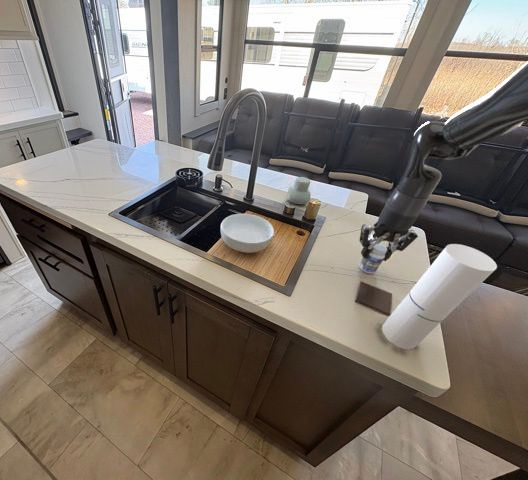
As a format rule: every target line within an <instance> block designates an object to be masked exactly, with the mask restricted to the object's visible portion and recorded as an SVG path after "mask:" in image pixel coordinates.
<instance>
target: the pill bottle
mask: <svg viewBox="0 0 528 480" xmlns="http://www.w3.org/2000/svg"><path fill="white" fill-rule="evenodd" d="M386 247H387V246H385V245H384V244H381V243H379V244H376V245H375V246H374V247H373V248H372V250H371V252H370V254H369V256H368V257H367V259H365V258H363V257H362V258H361V260H360V262H359V264H358V267H359V269H360V270H361V271H362V272H365V273H367V274H375V273H376V272H377V270H378V269H379V267H380V266H381V264H382V262H384V261H383V259H384V258H385V254H386V252H387V248H386Z"/></svg>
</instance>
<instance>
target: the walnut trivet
mask: <svg viewBox="0 0 528 480" xmlns="http://www.w3.org/2000/svg"><path fill="white" fill-rule="evenodd" d="M392 301H393V293H391V292H390V291H387V290H385V289H384V290H383V289H381V288H379V287H376V286H374V285H372V284H369V283H367V282H364V281H360V282H359V284H358V287H357V291H356V295H355V300H354V302H355V303H357V304H359V305H362V306H364V307H366V308H369V309H371V310H374V311H375V312H378V313H380V314H382V315H385V316H387V317H390V316H391V314H392V313H391V311H392Z"/></svg>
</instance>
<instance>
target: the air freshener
mask: <svg viewBox="0 0 528 480" xmlns="http://www.w3.org/2000/svg"><path fill="white" fill-rule="evenodd" d="M310 185H311V180H310V179H309V178H308V177H306V176H298V177H296V178H295V180H294V183H293V186H290V187H288V190H287V200H288V201H289V202H291V203H293V204H295V205H305V204H308V203H309V202H310V201H311V196H312V195H311V194H312V193H311V190H310V189H309V187H310ZM309 200H310V201H309ZM308 201H309V202H308Z"/></svg>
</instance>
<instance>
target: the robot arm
mask: <svg viewBox="0 0 528 480" xmlns="http://www.w3.org/2000/svg"><path fill="white" fill-rule="evenodd" d="M527 121H528V60H527V61H526V62H525V63H524V64H523V65H521V66H520V67H519V68H518V69H517V70H516V71H515V72H513V73H512V74H511V75H510V76H509V77H507V78H506V79H505V80H504V81H503V82H501V84H499V85H497V87H496V88H494V89H493V90H491V91H490V92H488V93H487V94H485V95H483V96H482V97H480V98H479V99H476V101H474V102H472V103H471V104H469V105H467V106H466V107H463V108H462V109H461V110H459V111H457V112H456V113H455V114H453V115H452V116H451V117H450V118H449V119H448V120H447V121H446V122H443V121H427V122H425V123H424V124H421V126H420V127H418V129H417V130H416V131H415V132H414V133H413V136H412V139H411V143H410V148H409V155H408V157H407V158H408V159H407V163H406V166H405V169H404V172H403V173H402V175H401V178H400V179H399V181H398V183H397V185H396V187H395V188H394V190H392V192H391V194H390V195H389V197H388V199H387V200H386V203H385V204H384V207H383V208H382V211H381V212H380V214H379V216H378V219H377V221H376V223H374V224H373V225H367V224H366V223H364V224H362V225H361V229H360V233H359V243H360V244H361V246H362V249H361V250H360V254H361V256H362V258H365V259H367V257H368V256H369V254H370V252H371V250H372V248H373V247H374V246H375V245H376V244H381V243H382V242H387V246H385V247H386V248H387V252H386V254H385V258H384V259H383V261H382V262H386V261H387V260H389V259H390V258H391V257H392V255H393V254H394V253H395V252H396V251H399V252H403V251H404V250H406V249H407V248H408V247H409V246H410V245H411V244H412V243H413V242H414V241H415V240H416V239H417V238H418V237H419V235H418V234H417V233H416V232H415V231H414V229H411V228H412V227H413V226H414V224H415V223H416V221H417V219H418V218H419V216H420V215H421V213H422V212H423V210H424V208H425V207H426V205H427V203H428V201H429V198H430V197H431V195H432V193H433V192H434V190H435V189H436V187H437V186H438V185H439V183H440V181H441V179H442V176H443V174H442V172H441V171H440V170H439V169H437V168H435V167H432V166H430V165H427V164H425V160H426V158H432V159H438V160H445V161H457V160H461V159H464V158H466V157H468V156H469V154H471V153H472V151H473V150H475V149H476V148H477V147H479V146H480V145H482V144H484V143H487V142H489V141H492V140H494V139H496V138H499V137H502V136H504V135H506V134H508V133H510V132H512V131H513V130H515V129H516V128H518V127H519V126H520V125H522V124H523V123H524V122H527Z"/></svg>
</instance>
